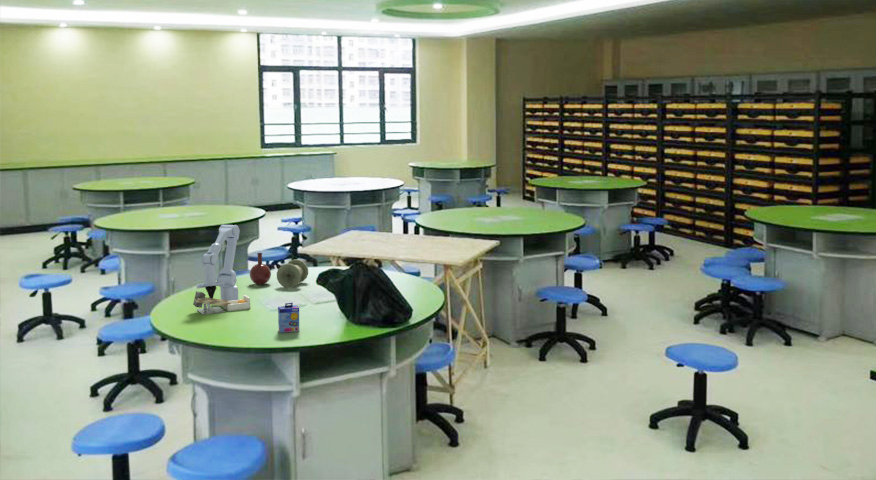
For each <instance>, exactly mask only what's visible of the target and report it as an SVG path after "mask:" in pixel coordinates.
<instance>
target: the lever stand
mask: <svg viewBox="0 0 876 480" xmlns="http://www.w3.org/2000/svg"><path fill="white" fill-rule="evenodd" d="M202 306H203V308H198V309H197V308H196V311H197V312H198V313H199V312H200V313H201V314H200V313H199V314H200V315H202V316H206V315H207V314H208V315H214V314H223V313H226V310H225V309H224V308H221V306H213V307H211V304H210V303H207V304H204V303H203V304H202Z"/></svg>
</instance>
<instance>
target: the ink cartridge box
mask: <svg viewBox="0 0 876 480" xmlns="http://www.w3.org/2000/svg"><path fill="white" fill-rule="evenodd" d="M293 304H294V303H293V302H287V303H285V304H284V305H281V306H278V307H277V313H278V314H277V317H278V322H277V323H278V332H279V334H284V333H285V334H286V333H292V332H293V333H296V332H300V307H299V306H298V305H296V304H294V305H293Z"/></svg>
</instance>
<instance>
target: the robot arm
mask: <svg viewBox="0 0 876 480" xmlns="http://www.w3.org/2000/svg"><path fill="white" fill-rule="evenodd" d="M240 230H241V229H240V227H239V226H238V225H237V224H234V225H233V224H221V225H220V226H219V228H218V235H217V238H216V240H215V242H214V243H212V244H211V245H210V246H209V248H208V250H207V252H206V253H204V254H203V255H202V256H201V263H202V267H203V268H204V271H203V272H204V282H203V283H202V282H201V283H197V284H196V289H203V288H205V290H206V292H207V295H208V298H214V295H215V292H216V290H217V287H219V288H220V289H219V291H220V299H221V300H228V301H232V300H239V288H238V285H236V284H237V273H236V271H234V270H233V268H234V262H235V257H236V249H237V242H238V241H239V238H240V232H241V231H240ZM225 241H226V248H225V249H226V250H225V255H224V262H223V267H222V269H221V270H219V271H218V275H217V274H216V264H217V262H218V257H219V254H220V252H221V250H222V245H223V244H224V242H225ZM216 275H217V277H216Z"/></svg>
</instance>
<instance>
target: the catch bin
mask: <svg viewBox="0 0 876 480" xmlns="http://www.w3.org/2000/svg"><path fill="white" fill-rule="evenodd" d="M242 295H243V296H242V297H243V298H242V299H241V298H239V299H238V300H232V301H228V302H229V303H231V304H230V305H227V307H226V306H222V309H223V310H224V311H227V312H233V311H240V310H241V311H242V310H250V309H251V298H250V297H249V296H248V295H246V294H242ZM239 300H244V301H245V302H246V303H238V302H239Z"/></svg>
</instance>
